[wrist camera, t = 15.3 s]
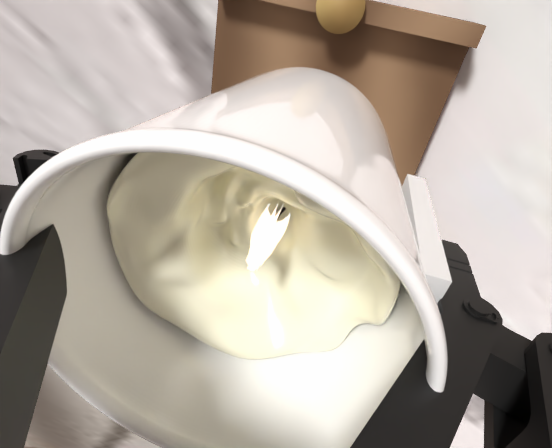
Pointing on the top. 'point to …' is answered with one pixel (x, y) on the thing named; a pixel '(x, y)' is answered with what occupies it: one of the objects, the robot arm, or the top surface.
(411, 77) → the brown wooden flat tray
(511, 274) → the top surface
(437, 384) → the candle holder
